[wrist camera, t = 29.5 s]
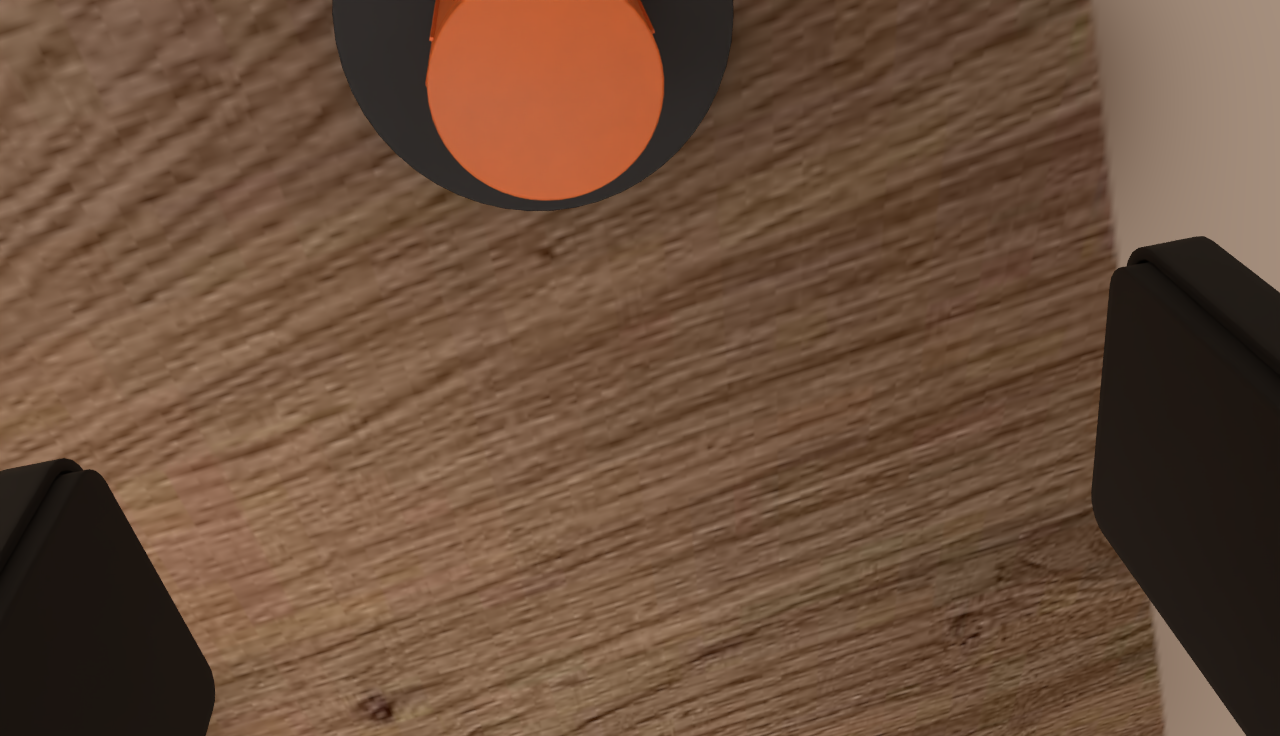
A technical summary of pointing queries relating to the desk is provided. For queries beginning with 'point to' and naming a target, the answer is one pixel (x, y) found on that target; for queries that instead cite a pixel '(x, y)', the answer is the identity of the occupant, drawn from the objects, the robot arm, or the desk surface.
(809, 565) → the desk surface
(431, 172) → the coaster
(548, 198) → the cap
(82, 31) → the desk surface
